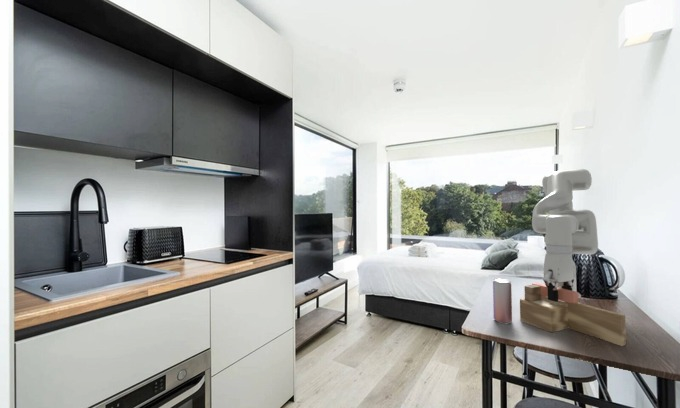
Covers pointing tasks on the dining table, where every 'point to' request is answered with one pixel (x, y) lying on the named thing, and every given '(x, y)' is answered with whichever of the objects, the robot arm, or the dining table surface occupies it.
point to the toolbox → (576, 320)
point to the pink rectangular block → (561, 294)
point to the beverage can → (502, 301)
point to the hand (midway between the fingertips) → (560, 298)
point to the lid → (539, 296)
